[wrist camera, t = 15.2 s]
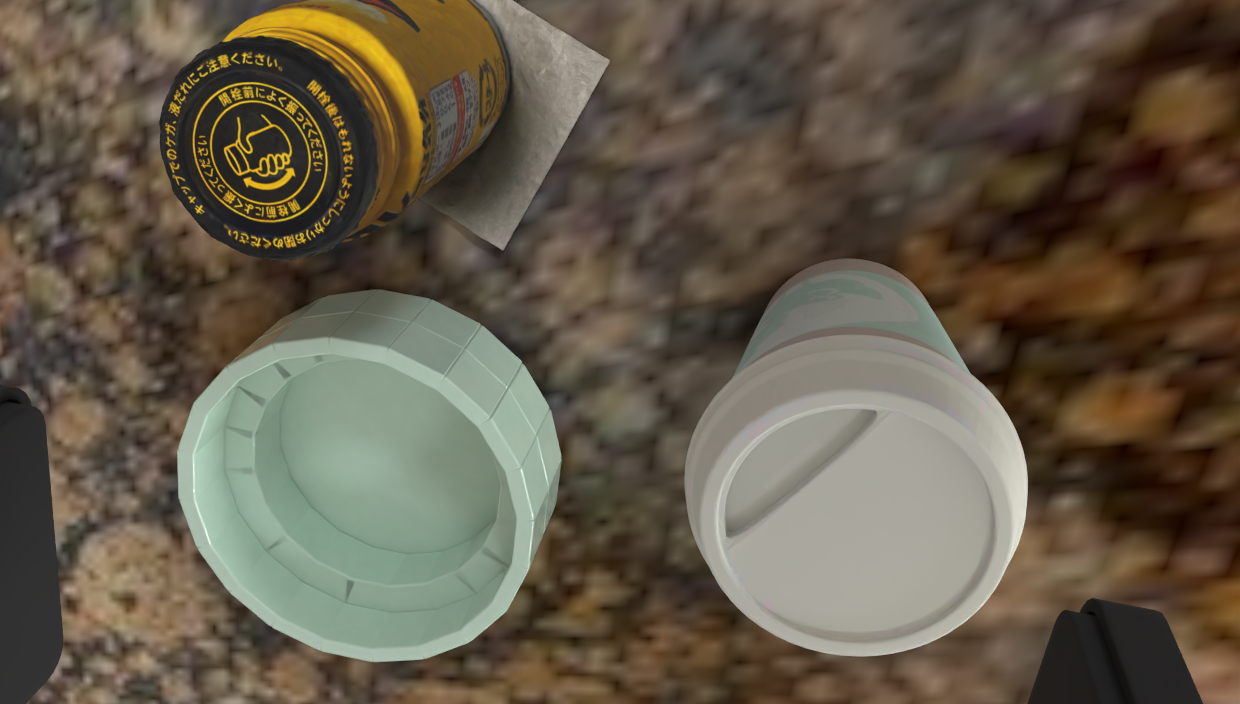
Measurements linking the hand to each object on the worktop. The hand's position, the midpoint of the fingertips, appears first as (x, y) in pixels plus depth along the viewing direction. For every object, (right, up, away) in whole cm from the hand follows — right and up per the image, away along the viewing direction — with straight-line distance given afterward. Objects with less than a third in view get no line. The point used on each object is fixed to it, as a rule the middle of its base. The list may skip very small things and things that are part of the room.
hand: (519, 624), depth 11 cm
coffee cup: (+8, +3, +29) cm, 30 cm away
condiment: (-5, +11, +28) cm, 30 cm away
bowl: (-7, -1, +33) cm, 34 cm away
